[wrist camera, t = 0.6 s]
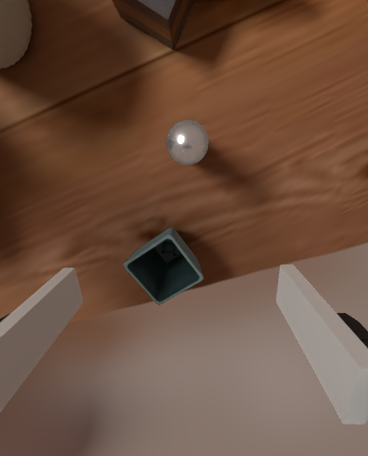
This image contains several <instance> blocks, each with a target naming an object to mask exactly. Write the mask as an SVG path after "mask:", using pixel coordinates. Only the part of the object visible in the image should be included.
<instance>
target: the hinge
mask: <svg viewBox="0 0 368 456" xmlns="http://www.w3.org/2000/svg"><path fill="white" fill-rule="evenodd" d="M112 1H113V3H114V5H115V7H116V9H117V11H118V13H119V15H120V16H121V17H122V18H123V19H125V20H126V21H128V22H129V23H131V24H133V25H134V26H136V27H137V28H139V29H141V30H142V31H144V32H145V33H147V34H149V35H150V36H152V37H153V38H155V39H157V40H158V41H160V42H161V43H163V44H165V45H166V46H168V47H169V48H171V49H172V50H174V49H175V46H176V44H177V41H178V39H179V37H180V34H181V32H182V29H183V27H184V25H185V22H186V20H187V17H188V15H189V13H190V10H191V8H192V5H193V3H194V2H203V1H216V0H112Z"/></svg>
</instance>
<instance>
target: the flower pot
mask: <svg viewBox="0 0 368 456" xmlns="http://www.w3.org/2000/svg"><path fill="white" fill-rule="evenodd" d="M164 240H166V241H165V242H163V241H164ZM161 251H164V253H162V252H161ZM173 253H176V254H175V255H173ZM123 266H124V268H125V269H126V270H127V271H128V272H129V274H130V275H131V276H132V277H133V278H134V279H135V280H136V281H137V282H138V283H139V284H140V286H141V287H142V288H143V289H144V290H145V291H146V292H147V293H148V295H149V296H150V297H151V298H152V299H153V300H154V302H155V303H157V304H159V305H160V304H162V303H164V302H166V301H167V300H169V299H171V298H172V297H174V296H176V295H177V294H179V293H181V292H183V291H184V290H186V289H188V288H190V287H192V286H193V285H195V284H197V283H199V282H201V281H202V280H203V279H204V278H203V274H202V271H201V268H200V265H199V262H198V260H197V258H196V257H195V255H194V254H193V253H192V251H191V250H190V249H189V247H188V246H187V245H186V243H185V242H184V241H183V239H182V238H181V237H180V236H179V234H178V233H177V231H176V230H175V229H174V228H173V227H171V228H169V229H167V230H166V231H164V232H163V233H161V234H160V235H158V236H157V237H155V238H154V239H152V240H151V241H149V242H148V243H146V244H145V245H143V246H142V247H140V248H139V249H137V250H136V251H135V252H134V253H133V254H132V255H131V257H130V258H129V259H128V260H127V261H126V262H125V263H124V265H123Z"/></svg>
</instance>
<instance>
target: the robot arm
mask: <svg viewBox="0 0 368 456" xmlns="http://www.w3.org/2000/svg"><path fill="white" fill-rule="evenodd" d="M276 303H277V304H278V307H279V308H280V310H281V312H282V314H283V316H284V318H285V319H286V321H287V323H288V325H289V327H290V328H291V330H292V332H293V334H294V336H295V338H296V339H297V341H298V343H299V345H300V347H301V349H302V350H303V352H304V354H305V356H306V357H307V360H308V361H309V363H310V365H311V367H312V369H313V370H314V372H315V374H316V376H317V378H318V380H319V381H320V383H321V385H322V387H323V389H324V391H325V392H326V394H327V396H328V398H329V400H330V402H331V403H332V405H333V407H334V409H335V411H336V413H337V414H338V416H339V418H340V420H341V422H342V424H363V425H364V424H365V423H366V421H367V418H368V331H367V330H366V329H365V328H364V327H363V326H362V325H361V324H360V323H359V322H358V321H357V320H355V319H354V318H352V317H350V316H349V315H348V314H346V313H336V312H335V311H334V310H333V309H332V308H331V307H330V306H329V305H328V303H327V302H326V301H325V300H324V299H323V298H322V297H321V295H320V294H319V293H318V292H317V291H316V290H315V289H314V288H313V287H312V285H311V284H310V283H309V282H308V281H307V280H306V279H305V277H304V276H303V275H302V274H301V273H300V272H299V271H298V270H297V268H296V267H295V266H294V265H280V272H279V280H278V289H277V296H276ZM82 304H83V298H82V294H81V290H80V286H79V282H78V278H77V274H76V270H75V268H63V269H62V270H61V271H60V272H58V273H57V274H56V275H55V276H54V277H53V278H51V279H50V280H49V281H48V282H47V283H46V284H44V285H43V286H42V287H41V288H40V289H39V290H37V291H36V292H35V293H34V294H33V295H32V296H30V297H29V298H28V299H27V300H26V301H25V302H24V303H22V304H21V305H20V306H19V307H18V308H17V309H15V310H14V311H13V312H12V313H11V314H8V315H6V316H5V317H3V318H1V319H0V412H1V411H2V410H3V408H4V407H5V406H6V404H7V403H8V402H9V400H10V399H11V397H12V396H13V395H14V394H15V392H16V391H17V390H18V388H19V387H20V386H21V384H22V383H23V382H24V380H25V379H26V378H27V376H28V375H29V374H30V372H31V371H32V370H33V369H34V367H35V366H36V365H37V363H38V362H39V361H40V359H41V358H42V356H43V355H44V354H45V353H46V351H47V350H48V349H49V347H50V346H51V345H52V343H53V342H54V341H55V339H56V338H57V337H58V335H59V334H60V333H61V332H62V330H63V329H64V327H65V326H66V325H67V324H68V322H69V321H70V320H71V318H72V317H73V316H74V314H75V313H76V312H77V310H78V309H79V308H80V306H81V305H82Z"/></svg>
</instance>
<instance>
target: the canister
mask: <svg viewBox="0 0 368 456" xmlns="http://www.w3.org/2000/svg"><path fill="white" fill-rule="evenodd" d="M31 18H32V15H31V12H30V4H29V2H28V0H0V69H2V68H8V67H9V66H10V65H14V64H15V62H17V61H19V60H20V58H21V57H22V56H24V53H25V51H26V50H27V49H28V44H29V43H30V37H31V35H32V33H31V28H32V22H31Z"/></svg>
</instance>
